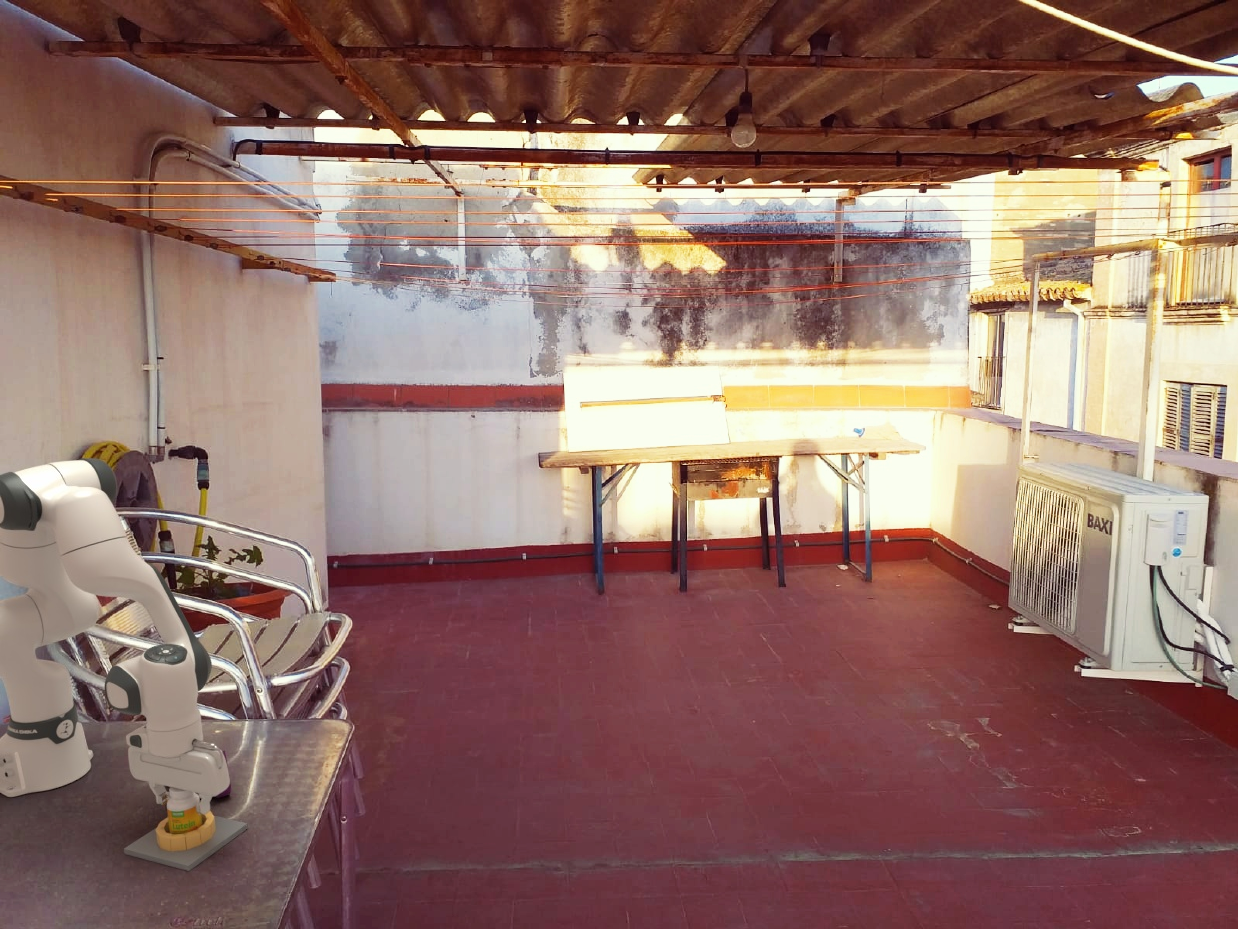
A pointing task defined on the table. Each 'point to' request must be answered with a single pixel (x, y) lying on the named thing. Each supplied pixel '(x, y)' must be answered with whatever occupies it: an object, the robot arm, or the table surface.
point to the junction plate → (188, 855)
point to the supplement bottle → (183, 811)
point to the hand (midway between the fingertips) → (183, 807)
